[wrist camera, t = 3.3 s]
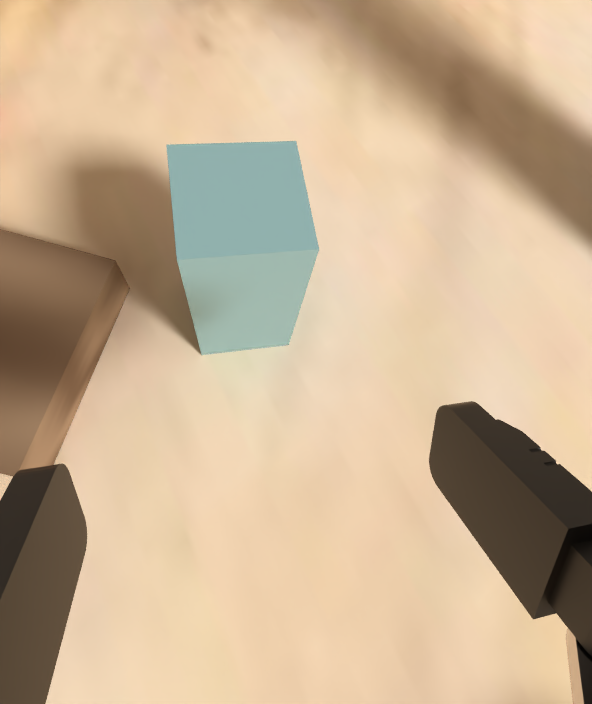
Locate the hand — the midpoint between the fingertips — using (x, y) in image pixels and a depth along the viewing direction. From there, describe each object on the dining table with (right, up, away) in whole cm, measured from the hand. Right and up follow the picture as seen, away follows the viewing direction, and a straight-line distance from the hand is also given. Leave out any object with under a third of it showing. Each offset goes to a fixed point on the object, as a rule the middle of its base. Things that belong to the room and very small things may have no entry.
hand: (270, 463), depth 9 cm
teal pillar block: (-3, +5, +16) cm, 17 cm away
